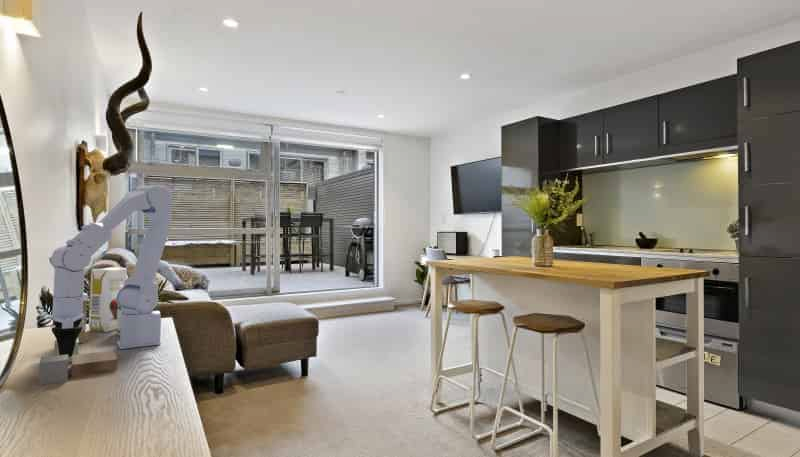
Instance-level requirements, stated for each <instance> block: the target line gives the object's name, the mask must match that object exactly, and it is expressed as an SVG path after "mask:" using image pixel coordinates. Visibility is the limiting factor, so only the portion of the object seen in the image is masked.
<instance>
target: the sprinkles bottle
mask: <svg viewBox="0 0 800 457" xmlns="http://www.w3.org/2000/svg"><path fill="white" fill-rule="evenodd" d="M88 295H89V294H88V293H86V292H84V294H83V313H84V316H83V317H82V321H81V322H80V324H79V326H83V328H82V330H81V332H80V333H79V335H78V337H77V338H78V340H79V344H82V343H85V342H86V340H87V339H86V330H87V329H86V328H87V301H88V298H89V296H88Z"/></svg>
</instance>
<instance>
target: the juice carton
mask: <svg viewBox="0 0 800 457" xmlns="http://www.w3.org/2000/svg"><path fill="white" fill-rule="evenodd" d="M126 280H127V268H126V267H116V266H115V267H113V266H112V267H105V268H92V269H91V273H90V288H89V290H90V291H89V292H90V293H89V315H88V316H89V318H88V331H90V332H99V333H100V332H101V333H108V332H112V331H115V330H116V327H117V309H118V304H117V302H116V296H117V294H118V292H119V286H122V285H124V283H125V281H126Z"/></svg>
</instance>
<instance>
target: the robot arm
mask: <svg viewBox="0 0 800 457" xmlns="http://www.w3.org/2000/svg"><path fill="white" fill-rule="evenodd" d="M173 200H174V197H173V195H172V194H171V192H170V191H169V189H168V188H167V187H166V186H164V185H162V184H155V185H136V186H134V187H133V188H131V190H130V191H128V192H126V193H125V194H124V196H123V197H122V199H121V200H120V201H118V203H117V204H115V206H114V207H113V208H112V209H110V210H109V212H107V214H106V215H104V217H103V218H102V219H101V220H99V222H91V223H88V224H84V225H82V227H80V228H81V231H80V232H78V233H77V234H76V235H75V236H74V237H73V238H72V239H67V240H66V241H65V244H66V245H62V246H59V247H57V248H55V250H54V251H53V252H52V253H51V257H49V258H48V261H49V263H50V265H51V266H52V267H53V268H54V272H53V273H54V274H53V275H54V277H53V295H52V296H53V297H52V298H53V300H52V314H47V315H45V319H46V320H53V321H52V324H53V326H54V327H51V332H52V334H53V335H54V337H55V340H57V343H58V349H59V354H60V355H66V354H68V357H72V354H73V351H74V347H75V343H76V340H77V337H78V335H79V333H80V332H81V330H82V328H83V326H79V324H80V322H81V321H82V317H83V316H84V313H83V294H84V293H85V292H84V291H85V290H84V288H85V269H86V267H88V266H89V265H90V263H91V261H92V257H93V256H94V254H96V252H98V251H99V249H101V248H102V247H103V246H104V245H105V244H106V243H107V242H108V241H110V239H111V237H112V231H113V230H114V229H116V227H118V226H119V225H120V224H121V223H122V222H124V221H125V220H126V219H128V217H130V216H131V215H132V214H133V213H135V212H137V211H139V212H141V213H142V214H143V215H145V217H146V218H147V219H148V224H147V227H146V231H145V235H144V237H143V240H142V243H141V245H140V246H141V247H140V250H139V253H138V257H137V259H136V263H135V266H134V269H133V273H132V274H131V275H130V277H128V278H126V281H125V283H124V286H123V287H122V289H121V290H120V291H119V292H118V294H117V296H116V302H117V304H118V306H119V307H121V331H120V335H119V337H120V338H119V340H117V341H116V344H117V347H118V348H119V350H124V349H133V348H141V347H149V346H158V345H161V329H162V326H161V325H162V316H161V312H160V310H154V309H155V308H156V306H157V305H158V303H159V294H158V292H159V288H160V286H159V284H158V282H157V280H156V279H155V278H156V276H157V272H158V269H159V266H160V263H161V259H162V255H163V252H164V248H165V245H166V243H167V239H168V236H169V232H170V229H171V225H172V222H173V213H172V212H173V211H172V204H173Z"/></svg>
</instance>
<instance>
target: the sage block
mask: <svg viewBox="0 0 800 457" xmlns="http://www.w3.org/2000/svg"><path fill="white" fill-rule="evenodd" d="M79 345H80V343H79V340H78V338H77V340H76V343H75V347H74V351H73V354H72V355H79V347H80V346H79ZM53 348H54V350H53V356H58V355H60V354H59V349H58V343H57V340H56V339H55V340H54V346H53ZM68 363H72V357H68Z"/></svg>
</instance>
